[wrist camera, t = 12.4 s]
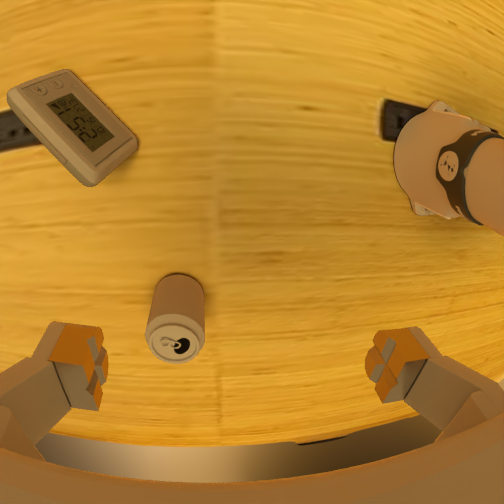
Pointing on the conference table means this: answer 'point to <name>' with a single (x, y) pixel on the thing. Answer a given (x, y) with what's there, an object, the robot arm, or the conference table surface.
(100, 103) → the digital clock
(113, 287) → the conference table surface
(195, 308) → the can
